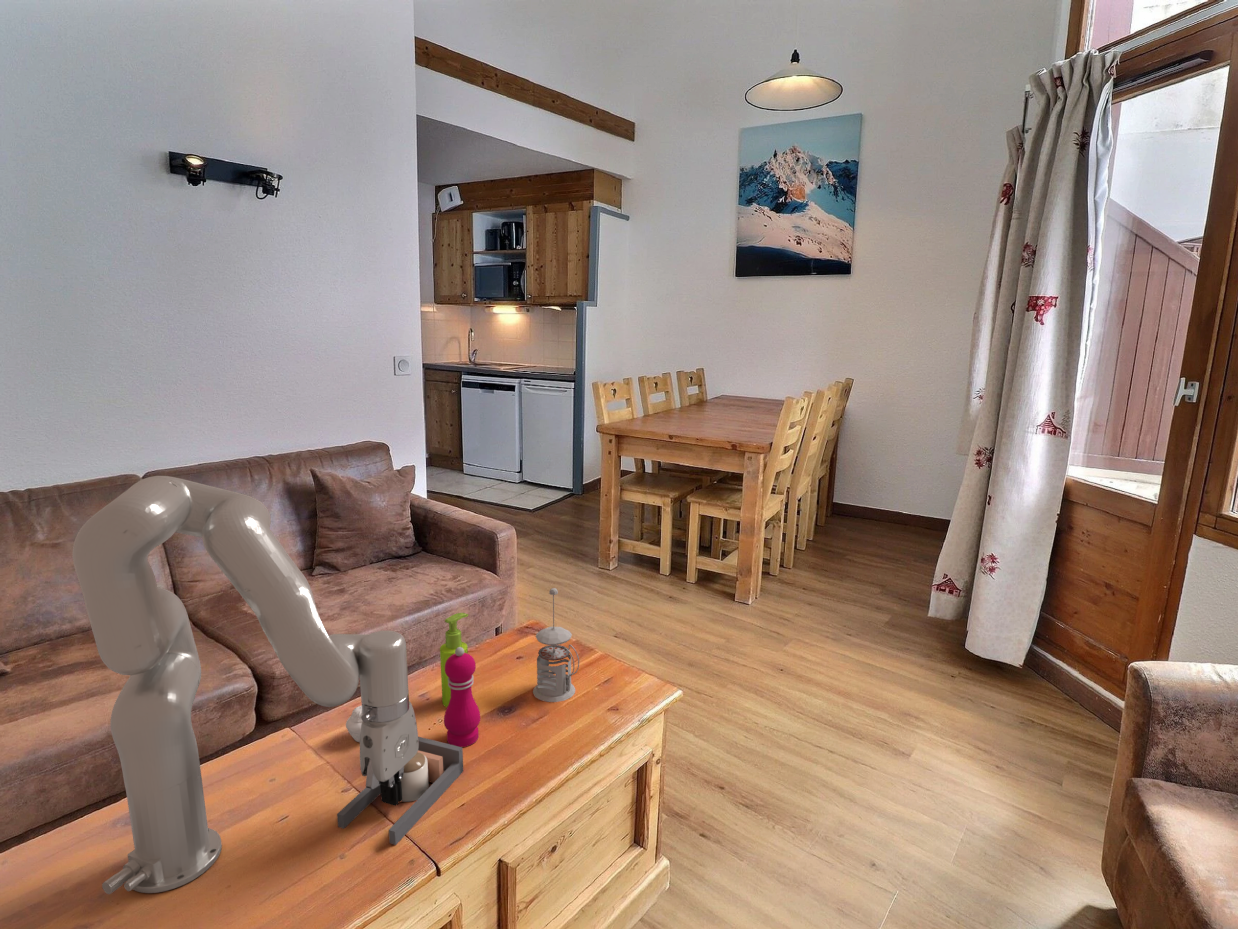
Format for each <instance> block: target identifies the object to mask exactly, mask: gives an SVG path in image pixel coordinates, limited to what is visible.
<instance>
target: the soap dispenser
mask: <svg viewBox="0 0 1238 929" xmlns="http://www.w3.org/2000/svg"><path fill="white" fill-rule="evenodd" d="M468 617H469V614H468V613H465V612H457V613H455V614H452V615H451V616H448V617H447V618H445V619H444V623H446V624H448V630H447V631H445V633H444V634H445V643H443V644H442V645H440V647H439V654H440V655H439V656H440V658H439V659H440V678H441V680H440V681H441V696H442V697H441V701H442V706H444V707H445V708H447V707H448V705H449V702H450V698H451V689H450V687H449V686H448V678H449V677H448V676H447V675H446V673H445V663H446V661H447V659H448V658H449V657H450V656H451V655H453V654H455V650H456V649H457V648H458V647H462V648H463V649H464V653H467V654H469V651H468V650H469V649H468V644H467V643H466V642H464V641H462V631H461V630H460V629H458V627H457V626H458V624H457V623H458V621H459V620H461V619H464V618H468Z"/></svg>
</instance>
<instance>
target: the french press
mask: <svg viewBox="0 0 1238 929" xmlns="http://www.w3.org/2000/svg"><path fill="white" fill-rule="evenodd" d="M548 594H549V595H551V596H552V622H553V623H552V626H548V627H546V628H542V629H541V630H540V631H538V632H537V633H536V634H535V639H536V640H537V642H539V643H541V644H543V645H545V646H543V647H541V648H540V649H539V650H538V651H537V652H538V653H537V654H538V655H537V658H536V674H537V675H536V679H537V680H536V685H535V687H534V688H533V689H532V690H533V691H532V693H533V696H534V697H535V698H536V699H538V700H540V701H543V702H547V703H549V702H550V703H558V702H565V701H566V700H568V699H570V698H572V697H573V696H574V695H575V693H576V688H575V686H574V684H572V676H573V675H575V674H576V673H578V670H579V669H580V668H579V667H580V657H579V654H578V651H577V650H576V649H575V647H574V646H573V645H572V644H569V645H568V647H567V646H564V645H562V644H565V643H568V642H569V641H570V640H571V639H572V636H573V633H571V631H570V630H569V629H565V628H564V627H562V626H555V596H556V595H558V589H557V588H555V587H554V588H553V587H552V588H551V589H550V590H549V593H548ZM570 648H572V649H573V650H574V652H575V654H576V657H577V661H578V662H577V669H576V671H575V667H576V666H575V660H574V657H573V655H572V652H571V650H570ZM566 658H568V659H566ZM561 663H564V664H561ZM566 663H567V664H566ZM557 664H558V665H557ZM559 664H560V665H559ZM551 665H552V666H551ZM553 665H554V666H553ZM572 666H573V669H572Z"/></svg>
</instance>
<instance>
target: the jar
mask: <svg viewBox="0 0 1238 929" xmlns="http://www.w3.org/2000/svg"><path fill="white" fill-rule="evenodd" d="M400 780H401V785H402V800H401V801H400V802H406V803H409V802H416V801H417V800H418V799H419V798H420V797H421V796H422V795H423V794H424V792H425V791H426V790H427V789H428V788H429V787H430V785H429V784H430V782H429V781H428V761H427V758H426V756H424V755H423V754H421V753H419V752H417V753H416V755H415V756H414V757H413V758H412V759H411V760H410V761H409V762H408V763H406V764H405V765H404V774H403V777H402V778H401V779H400Z"/></svg>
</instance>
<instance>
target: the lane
mask: <svg viewBox="0 0 1238 929" xmlns="http://www.w3.org/2000/svg"><path fill="white" fill-rule="evenodd" d="M418 741H419V748H418V750H419V751H423V752H427V753H431V754H434V755H438V756H442V757H443V774H442V775H441V776H440V777H439V778H438V779H437V780H436V781H435V782H434V783H432V784H431V785H429V788H428V789H427V790H426V791H425V792H424V794H423V795H422V796H421V797H420V798H419V799H418V800H415V801H414V803H412V805H410V807H409V808H408V809H407V810H406V811H405V812H404V813H403V814H402V816H400V817H399V818H398V819H397V820H396V822H394V824H392V826H391V827H390V828H389V829H388V838H389V839H388V840H389V844H390V845H393V846H394V845H395V846H396V845H397V844H398V843H400V841H401V840H402V839H403V838H404V837H405V835H407V833H408V832H409V831H410V830H411V829H412V828H413V827H414V826H415V825H416V824H417V823H418V822H419V820H420V819H422V818H423V816H424V815H425V814H426V813H427V812H428V810H430V808H431V807H433V805H434V804H435V803H436V802H437V801H438V800H439V798H441V797H442V795H443V794H444V793H445V792H446V791H447V790H448V789H449V788H450V787H451V785H452V784H453V783H455V781H456V780H457V779H459V777H460V776H461V774H463V772H464V751H463V748H464V747H458V746H454V745H450V744H449V743H445V742H441V741H437V740H435V739H429V738H425V737H422V736H418ZM379 796H381V790H380V785H379V786H378V787H376V788H374V789H370V788H366V787H364V788H363V790H361V791H360V792H359V793H358V794H357V795H356V796H355V797H354V798H352V799H351V800H350V801H349V802H348V803H347V804H346V805H345V806H344V807H343V808H341V809H340V811H338V813H336V818H337V827H338V828H340V829H345V828H347V827H348V826H349V825H350V824H351V822H353V820H355V819H356V818H357V817H358V816H359V815H360V814H361V813H362V812H363V811H364V810H365V809H367V808H368V806H369V805H371V803H372V802H374V801H375V800H376V799H377V798H378V797H379Z"/></svg>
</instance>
